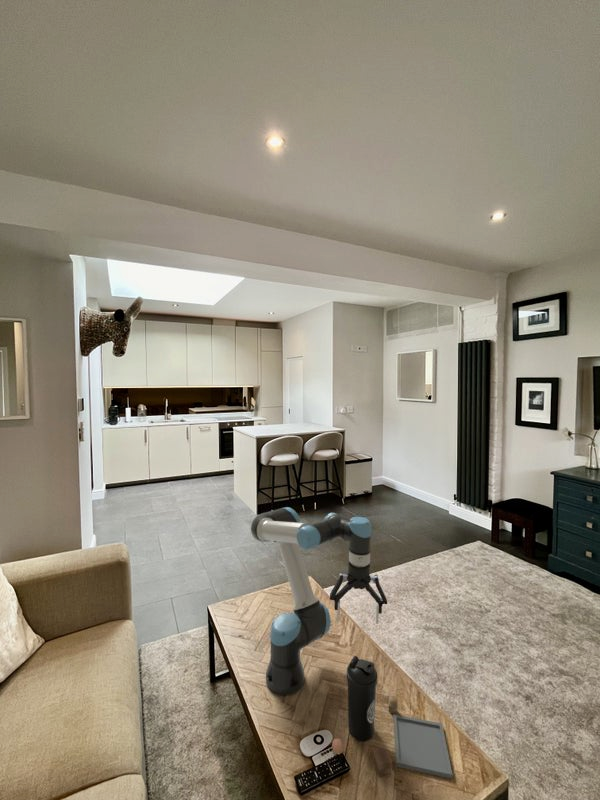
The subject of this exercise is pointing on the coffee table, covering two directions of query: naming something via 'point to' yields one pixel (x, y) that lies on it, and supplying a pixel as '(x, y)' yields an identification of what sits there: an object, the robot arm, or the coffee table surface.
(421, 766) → the tray
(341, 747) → the rubber ball
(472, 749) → the coffee table surface
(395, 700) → the cylinder
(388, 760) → the walnut cube
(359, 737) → the water bottle
